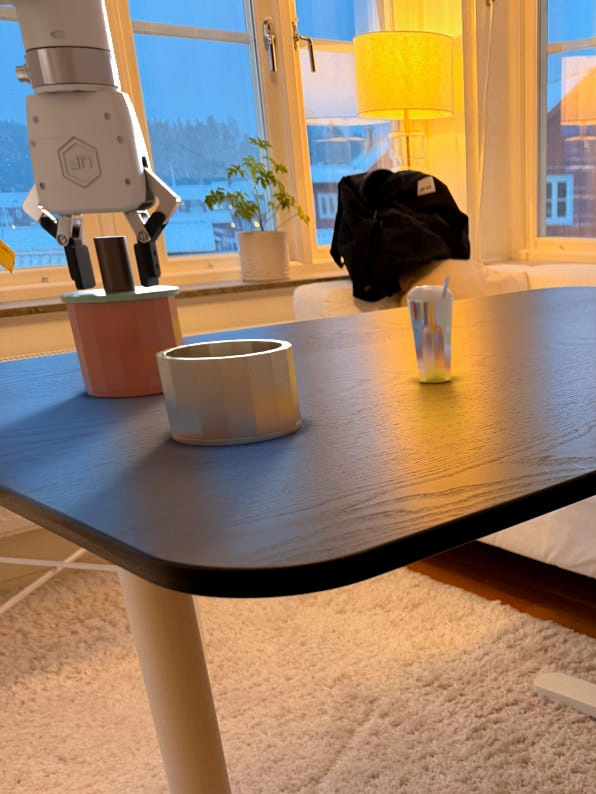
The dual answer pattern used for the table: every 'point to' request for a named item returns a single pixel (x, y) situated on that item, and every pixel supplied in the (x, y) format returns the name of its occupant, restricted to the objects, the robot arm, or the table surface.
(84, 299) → the lid
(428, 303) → the milkshake
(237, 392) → the tin
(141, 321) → the cup
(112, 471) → the table surface
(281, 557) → the table surface
